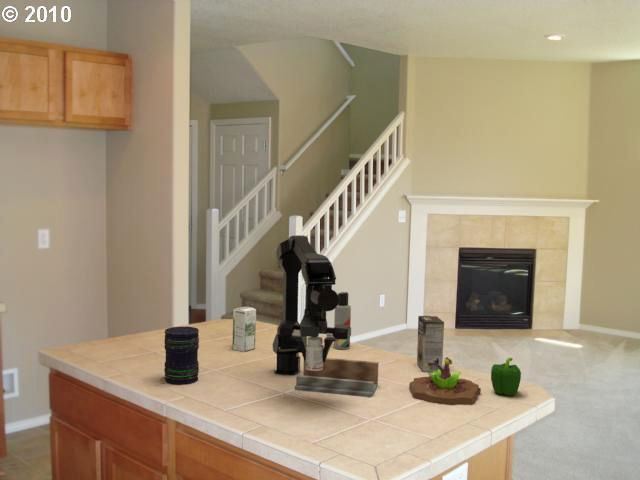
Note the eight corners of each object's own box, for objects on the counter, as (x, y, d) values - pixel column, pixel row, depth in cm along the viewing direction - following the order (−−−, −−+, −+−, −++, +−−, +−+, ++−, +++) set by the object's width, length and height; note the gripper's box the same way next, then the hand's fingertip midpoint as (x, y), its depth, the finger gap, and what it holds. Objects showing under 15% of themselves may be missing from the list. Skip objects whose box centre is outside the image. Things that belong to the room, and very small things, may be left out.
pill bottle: (325, 367, 187) (326, 337, 186) (319, 372, 182) (320, 340, 182) (309, 365, 188) (309, 335, 188) (303, 370, 184) (303, 339, 183)
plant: (407, 402, 186) (408, 362, 185) (410, 382, 205) (411, 345, 204) (482, 408, 182) (484, 367, 181) (478, 387, 202) (480, 349, 201)
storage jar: (205, 378, 203) (205, 328, 201) (185, 387, 194) (185, 335, 193) (177, 373, 207) (178, 325, 206) (157, 382, 198) (157, 331, 197)
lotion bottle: (348, 350, 240) (349, 293, 238) (332, 349, 241) (333, 292, 239) (350, 346, 246) (352, 291, 244) (335, 345, 247) (336, 290, 245)
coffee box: (416, 364, 224) (417, 315, 222) (435, 364, 224) (437, 315, 223) (422, 372, 215) (424, 321, 213) (442, 372, 215) (444, 321, 214)
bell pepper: (504, 399, 189) (506, 364, 188) (484, 391, 197) (486, 356, 196) (527, 395, 193) (529, 360, 192) (506, 387, 200) (508, 354, 200)
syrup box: (243, 346, 242) (243, 306, 241) (255, 349, 239) (256, 308, 237) (232, 349, 237) (232, 308, 236) (244, 352, 234) (245, 310, 233)
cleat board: (294, 389, 194) (295, 365, 193) (304, 379, 204) (305, 356, 204) (371, 397, 189) (372, 372, 188) (377, 385, 199) (378, 362, 199)
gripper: (273, 307, 178) (272, 366, 180) (344, 312, 174) (342, 372, 175) (285, 300, 189) (284, 355, 190) (352, 304, 185) (350, 361, 186)
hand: (314, 361), depth 185 cm, fingers closed on pill bottle, 5 cm apart
